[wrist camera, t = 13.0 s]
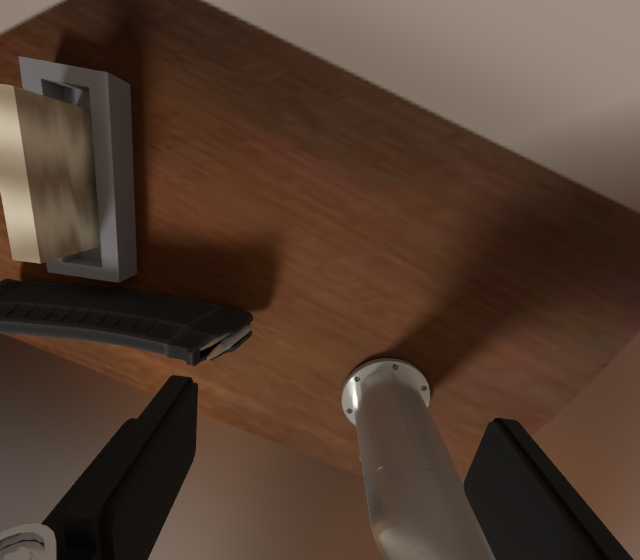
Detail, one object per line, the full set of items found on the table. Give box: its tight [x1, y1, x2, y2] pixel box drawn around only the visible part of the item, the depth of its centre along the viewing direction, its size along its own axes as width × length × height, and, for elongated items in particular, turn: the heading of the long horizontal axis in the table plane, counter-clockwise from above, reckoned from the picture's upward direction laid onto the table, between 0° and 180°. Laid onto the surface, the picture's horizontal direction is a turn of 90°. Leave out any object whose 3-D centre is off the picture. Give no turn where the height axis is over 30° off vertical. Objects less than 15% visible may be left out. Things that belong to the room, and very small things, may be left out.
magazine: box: [0, 279, 253, 366], centre depth 34 cm, size 17×3×30 cm
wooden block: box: [0, 84, 101, 264], centre depth 29 cm, size 14×3×9 cm, turn 172°
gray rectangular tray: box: [19, 56, 137, 283], centre depth 32 cm, size 21×8×4 cm, turn 171°
